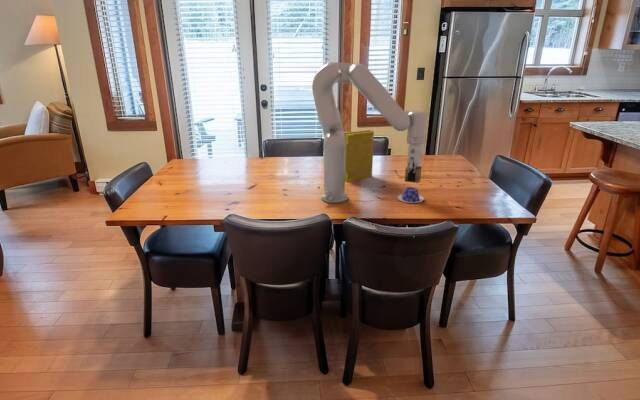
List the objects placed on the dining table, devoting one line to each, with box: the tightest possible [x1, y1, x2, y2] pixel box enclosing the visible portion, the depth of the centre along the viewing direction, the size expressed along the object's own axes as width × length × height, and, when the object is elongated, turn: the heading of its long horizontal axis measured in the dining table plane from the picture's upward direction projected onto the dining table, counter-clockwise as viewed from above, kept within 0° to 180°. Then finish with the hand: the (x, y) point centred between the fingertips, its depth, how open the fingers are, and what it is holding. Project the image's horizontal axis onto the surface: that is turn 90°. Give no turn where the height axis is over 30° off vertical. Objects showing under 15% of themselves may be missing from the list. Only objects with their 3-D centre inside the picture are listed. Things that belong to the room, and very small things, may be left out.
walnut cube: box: [404, 165, 422, 184], centre depth 168 cm, size 6×6×6 cm
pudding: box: [397, 186, 425, 204], centre depth 172 cm, size 12×12×5 cm
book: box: [344, 129, 375, 182], centre depth 198 cm, size 17×7×25 cm, turn 112°
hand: (412, 178), depth 169 cm, fingers closed on walnut cube, 6 cm apart
